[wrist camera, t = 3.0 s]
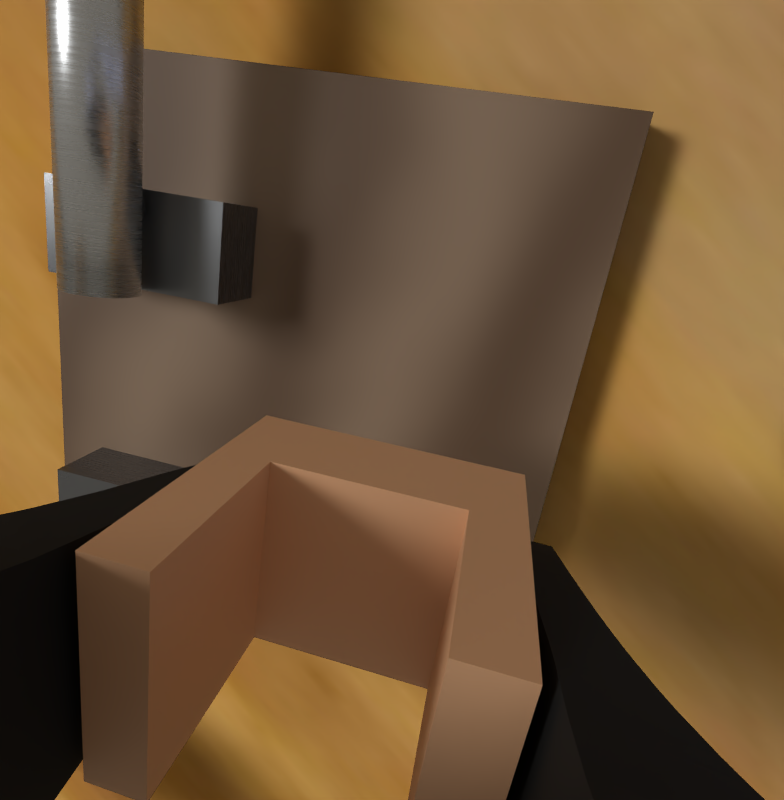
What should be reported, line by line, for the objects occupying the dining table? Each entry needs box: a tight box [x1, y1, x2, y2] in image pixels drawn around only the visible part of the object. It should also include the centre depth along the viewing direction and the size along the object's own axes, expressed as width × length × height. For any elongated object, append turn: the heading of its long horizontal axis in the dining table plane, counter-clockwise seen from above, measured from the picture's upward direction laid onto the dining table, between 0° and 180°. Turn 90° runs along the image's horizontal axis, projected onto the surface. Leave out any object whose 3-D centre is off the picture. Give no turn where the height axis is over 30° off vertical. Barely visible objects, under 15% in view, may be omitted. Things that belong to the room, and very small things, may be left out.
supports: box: [44, 173, 258, 501], centre depth 16 cm, size 5×11×2 cm, turn 171°
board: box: [58, 49, 653, 542], centre depth 16 cm, size 16×18×1 cm
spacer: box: [75, 415, 543, 800], centre depth 8 cm, size 5×4×5 cm
